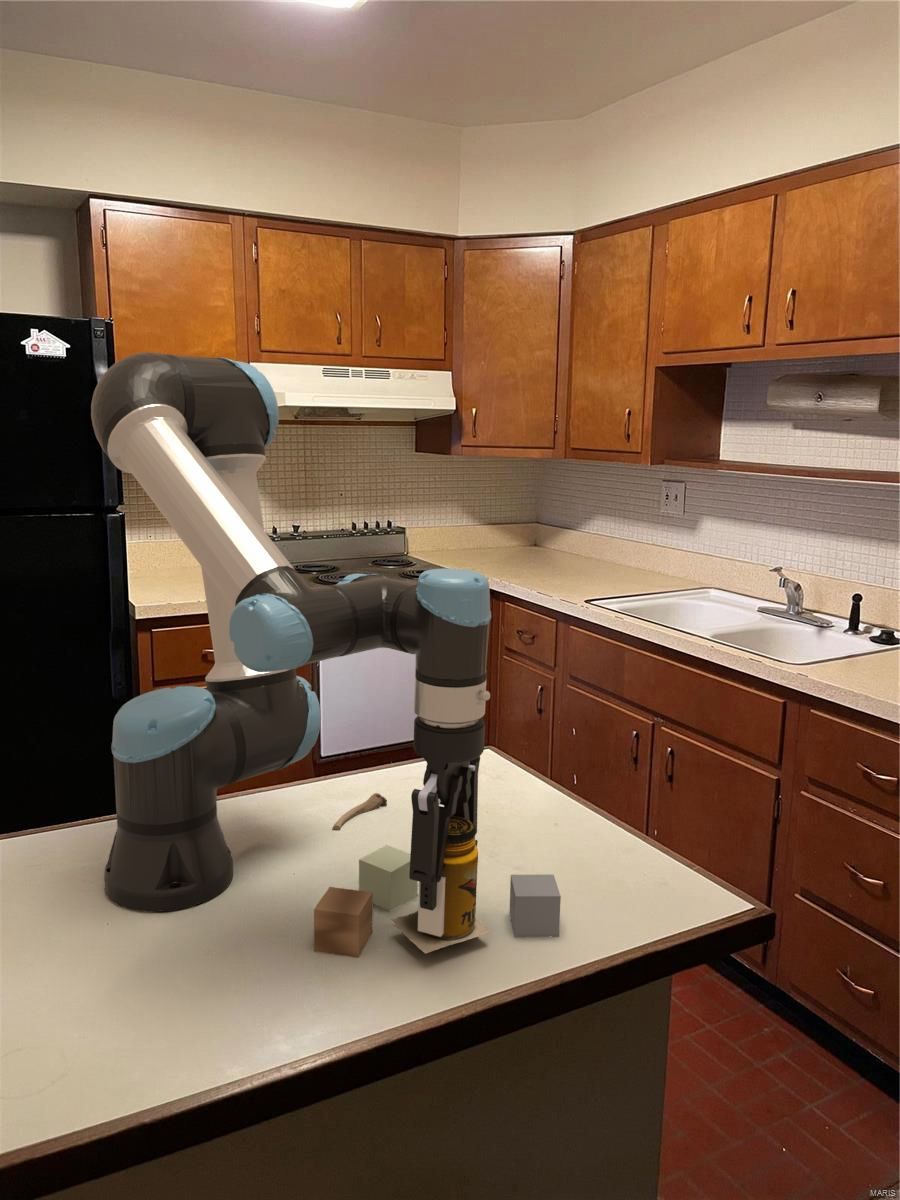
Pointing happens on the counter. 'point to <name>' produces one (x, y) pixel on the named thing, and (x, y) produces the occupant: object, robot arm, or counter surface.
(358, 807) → the bone
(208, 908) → the counter surface
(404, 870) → the sage cube
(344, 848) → the counter surface
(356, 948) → the walnut cube
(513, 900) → the slate cube
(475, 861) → the condiment
